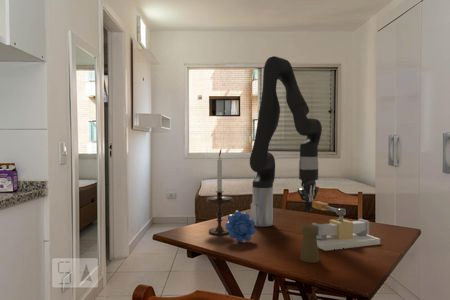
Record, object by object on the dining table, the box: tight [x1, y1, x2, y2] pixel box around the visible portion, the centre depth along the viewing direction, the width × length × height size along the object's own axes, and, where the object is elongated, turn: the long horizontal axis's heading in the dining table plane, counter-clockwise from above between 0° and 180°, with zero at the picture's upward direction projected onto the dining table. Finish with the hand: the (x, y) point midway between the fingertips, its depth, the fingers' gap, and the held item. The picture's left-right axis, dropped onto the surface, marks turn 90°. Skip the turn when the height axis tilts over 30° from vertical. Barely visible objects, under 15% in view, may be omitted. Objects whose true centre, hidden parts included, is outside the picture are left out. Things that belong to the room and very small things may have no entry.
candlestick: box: [206, 149, 233, 236], centre depth 145 cm, size 11×11×35 cm
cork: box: [299, 224, 320, 263], centre depth 112 cm, size 6×6×11 cm
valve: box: [311, 215, 381, 252], centre depth 132 cm, size 24×14×10 cm, turn 109°
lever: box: [312, 200, 347, 216], centre depth 139 cm, size 3×19×2 cm, turn 19°
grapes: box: [225, 210, 256, 243], centre depth 130 cm, size 12×7×12 cm, turn 104°
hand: (308, 210), depth 141 cm, fingers closed
